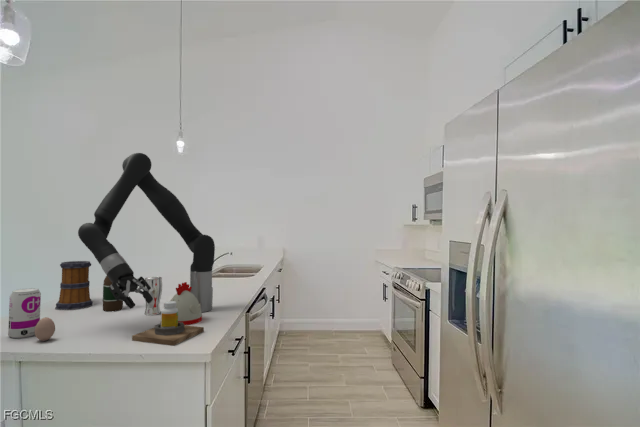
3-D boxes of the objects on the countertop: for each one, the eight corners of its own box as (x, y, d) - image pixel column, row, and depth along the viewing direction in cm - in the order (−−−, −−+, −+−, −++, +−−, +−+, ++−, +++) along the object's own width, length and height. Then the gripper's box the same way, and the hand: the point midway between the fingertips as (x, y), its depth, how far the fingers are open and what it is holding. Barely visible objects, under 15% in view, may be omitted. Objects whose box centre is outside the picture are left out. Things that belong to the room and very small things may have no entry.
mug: (65, 302, 175) (67, 259, 175) (100, 300, 179) (101, 259, 180) (49, 311, 156) (50, 264, 157) (88, 309, 161) (89, 263, 161)
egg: (49, 342, 116) (50, 319, 116) (30, 343, 115) (31, 319, 115) (58, 337, 121) (58, 315, 122) (39, 338, 120) (40, 315, 120)
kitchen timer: (156, 323, 140) (157, 283, 141) (181, 315, 153) (182, 279, 154) (185, 327, 135) (186, 286, 136) (209, 318, 148) (209, 281, 149)
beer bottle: (113, 312, 156) (115, 255, 157) (98, 311, 158) (99, 255, 158) (127, 308, 164) (128, 254, 164) (111, 307, 165) (113, 253, 166)
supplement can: (44, 333, 126) (46, 289, 126) (16, 340, 118) (18, 293, 119) (31, 330, 129) (32, 287, 129) (2, 336, 122) (4, 291, 122)
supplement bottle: (179, 331, 124) (180, 302, 124) (162, 334, 121) (162, 304, 122) (176, 328, 129) (176, 300, 129) (159, 330, 126) (160, 301, 126)
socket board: (165, 327, 135) (166, 317, 135) (203, 331, 130) (203, 321, 130) (131, 340, 119) (132, 329, 119) (173, 345, 115) (173, 334, 115)
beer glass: (139, 314, 153) (140, 278, 153) (152, 311, 159) (153, 276, 159) (152, 316, 150) (153, 279, 150) (165, 312, 156) (166, 277, 157)
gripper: (106, 264, 124) (133, 302, 121) (138, 259, 138) (162, 293, 135) (93, 278, 126) (119, 316, 123) (125, 272, 140) (150, 306, 137)
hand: (142, 304), depth 129 cm, fingers open, 8 cm apart
